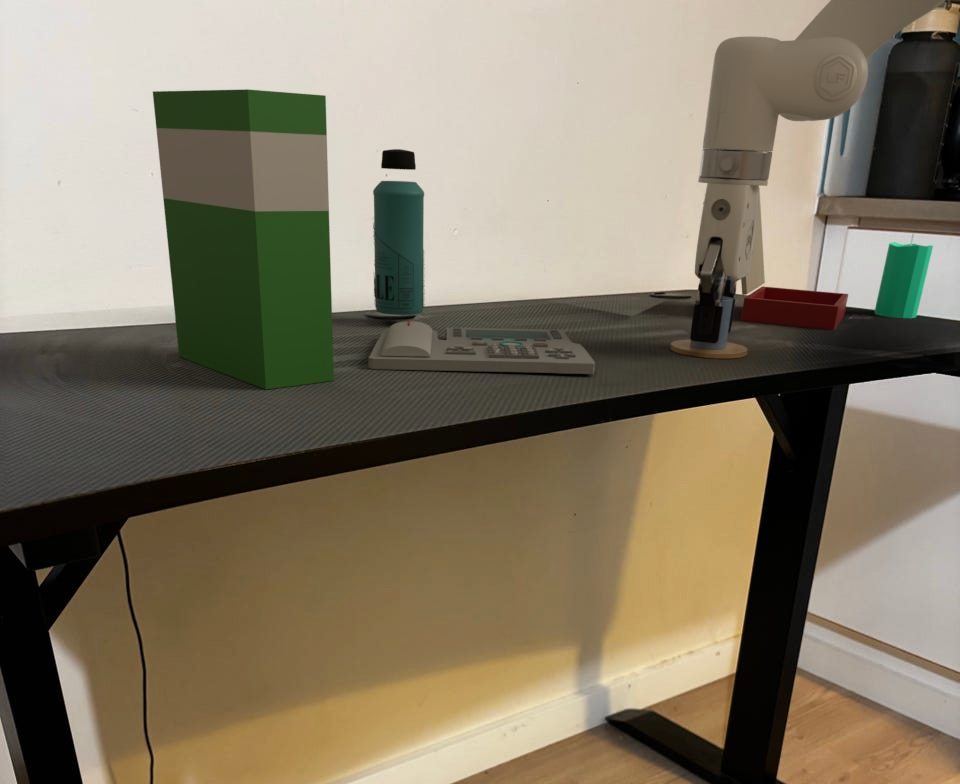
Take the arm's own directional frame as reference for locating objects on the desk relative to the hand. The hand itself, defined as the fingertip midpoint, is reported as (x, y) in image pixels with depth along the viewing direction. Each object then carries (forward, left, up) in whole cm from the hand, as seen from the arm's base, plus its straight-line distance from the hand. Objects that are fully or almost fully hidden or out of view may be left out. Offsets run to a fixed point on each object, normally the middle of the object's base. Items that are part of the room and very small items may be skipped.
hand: (710, 335), depth 114 cm
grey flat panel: (+1, -30, +9) cm, 31 cm away
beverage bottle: (+39, +5, -2) cm, 39 cm away
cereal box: (+38, +38, -2) cm, 54 cm away
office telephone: (+22, +18, -2) cm, 28 cm away
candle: (-19, -44, -2) cm, 48 cm away
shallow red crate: (-6, -30, -2) cm, 31 cm away
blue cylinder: (0, 0, -1) cm, 1 cm away
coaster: (0, 0, -2) cm, 2 cm away
